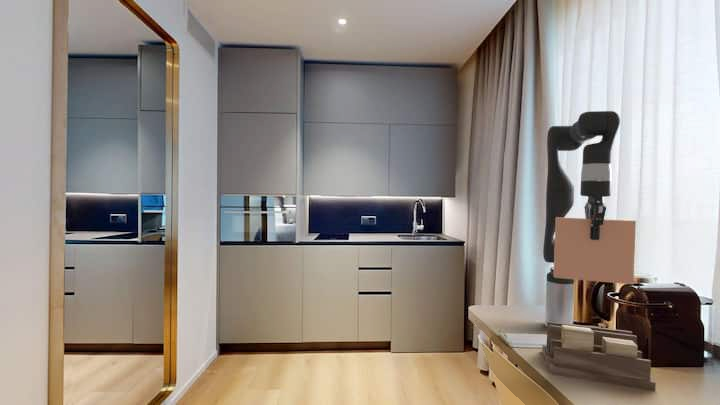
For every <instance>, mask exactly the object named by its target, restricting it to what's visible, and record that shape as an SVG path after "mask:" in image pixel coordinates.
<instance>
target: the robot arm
mask: <svg viewBox="0 0 720 405" xmlns="http://www.w3.org/2000/svg"><path fill="white" fill-rule="evenodd" d="M620 125H621V119H620V116H619V114H618V113H617V112H616V111H613V110H602V111H601V110H600V111H599V110H598V111H595V110H594V111H585V112H582V113H581V114H580V115H579V117H578V119H577V121H576V122H574V123H573V124H572V125H553V126H551V127H549V129H548V131H547V140H546V148H547V149H546V150H547V175H546V176H547V179H546V192H545V193H546V194H545V195H546V196H545V205H546V206H545V228H544V238H543V240H544V241H543V249H542V253H543V259H544V262H545V263H549V264H550V263H551V264H554V248H555V221H556V217H561V218H566V216H567V214H568V213H569V212H570V210H571V209H572V207H573V206H574V203H575V185H574V183H573V180H572V179H571V178H570V176H569V175H568V173H567V171H566V170H565V169H564V166H563V165H562V162H561V160H560V156H559V152H560V151H561V152H563V151H564V152H566V151H568V152H570V151H572V152H573V151H577V150H578V149H579V148H581V147H582V146H583V145H584V144H585V143H586V142H587V141H589V140H592V139H594V138H596V137H601V140H600V141H599V142H595V143H589V144H587V145H585V146H584V147H583V149H582V166H581V171H580V172H581V174H580V192H579V193H580V194H579V195H580V196H581V197H588V198H587V201H586V202H585V205H584V215H585V216H584V217H585V218H586V219H591V220H590V226H591V228H590V239H592V240H599V236H600V227H601V225H603V221H604V219H605V216H606V210H607V206H605V203H604V197H611V192H612V164H611V163H612V149H613V145H614V143H615V139H616V136H617V133H618V131H619V128H620ZM596 219H598V221H596ZM553 275H554V270H553V271H549V272H548V273H547V274H546V282H545V283H546V284H545V286H546V287H545V310H544V312H545V314H544V315H545V316H544V326H545V327H546V328H547V321H549V322H558V323H566V324H574V306H575V304H574V300H575V279H564V278H554V276H553Z"/></svg>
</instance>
